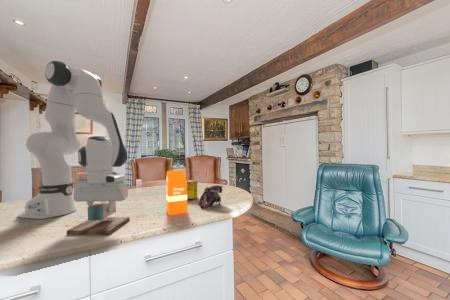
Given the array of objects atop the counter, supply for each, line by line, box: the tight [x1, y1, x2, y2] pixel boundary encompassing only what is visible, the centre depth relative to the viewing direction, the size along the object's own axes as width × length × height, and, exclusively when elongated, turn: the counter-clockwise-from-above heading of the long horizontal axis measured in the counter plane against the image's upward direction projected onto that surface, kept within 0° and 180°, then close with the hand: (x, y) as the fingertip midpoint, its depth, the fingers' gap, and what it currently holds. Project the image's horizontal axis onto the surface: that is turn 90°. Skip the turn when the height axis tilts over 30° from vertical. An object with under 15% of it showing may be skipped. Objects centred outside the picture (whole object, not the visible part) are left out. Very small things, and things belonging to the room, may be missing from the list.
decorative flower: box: [198, 185, 223, 210], centre depth 109 cm, size 15×12×15 cm
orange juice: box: [165, 169, 188, 216], centre depth 100 cm, size 8×9×20 cm
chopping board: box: [66, 216, 130, 236], centre depth 81 cm, size 16×14×2 cm
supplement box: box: [186, 179, 198, 201], centre depth 124 cm, size 6×6×11 cm
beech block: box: [87, 201, 117, 220], centre depth 82 cm, size 5×5×10 cm
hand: (101, 211), depth 82 cm, fingers closed on beech block, 5 cm apart
